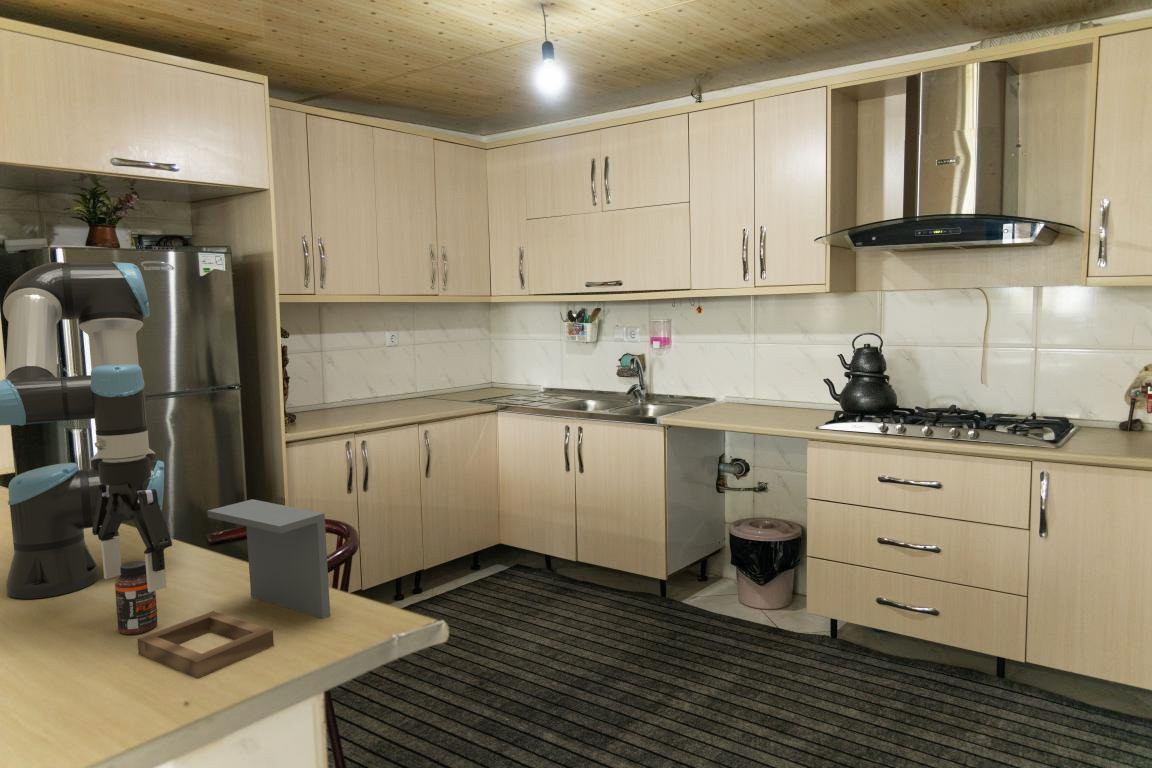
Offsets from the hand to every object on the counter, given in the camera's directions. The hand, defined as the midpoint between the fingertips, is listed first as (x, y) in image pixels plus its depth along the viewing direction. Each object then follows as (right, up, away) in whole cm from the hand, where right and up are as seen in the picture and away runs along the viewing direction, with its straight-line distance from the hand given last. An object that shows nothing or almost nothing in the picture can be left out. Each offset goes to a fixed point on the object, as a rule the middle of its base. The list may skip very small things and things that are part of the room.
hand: (134, 583), depth 137 cm
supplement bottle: (0, -8, +1) cm, 8 cm away
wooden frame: (+16, -9, -8) cm, 19 cm away
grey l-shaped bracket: (+20, -7, +7) cm, 23 cm away
